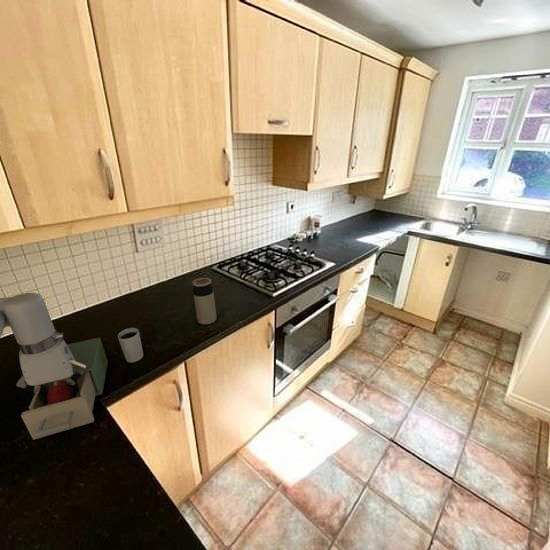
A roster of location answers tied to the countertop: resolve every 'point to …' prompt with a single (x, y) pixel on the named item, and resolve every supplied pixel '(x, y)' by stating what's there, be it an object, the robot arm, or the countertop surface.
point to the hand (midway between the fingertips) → (61, 396)
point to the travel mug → (204, 301)
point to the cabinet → (91, 360)
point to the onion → (59, 393)
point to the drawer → (61, 410)
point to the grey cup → (131, 344)
